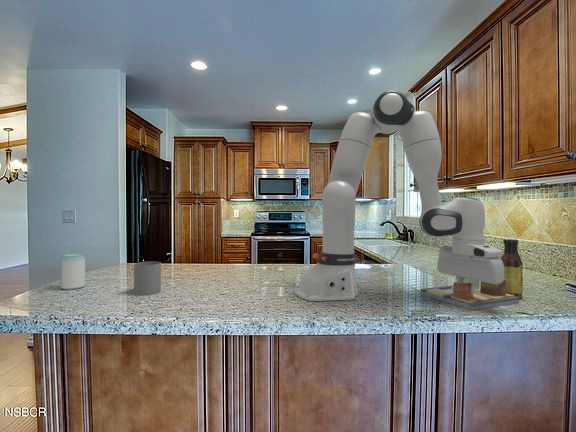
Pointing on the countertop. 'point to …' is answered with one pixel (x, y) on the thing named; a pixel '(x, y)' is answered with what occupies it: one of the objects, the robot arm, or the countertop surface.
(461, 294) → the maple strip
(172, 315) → the countertop surface
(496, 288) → the walnut cube
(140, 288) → the cup
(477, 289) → the sage block
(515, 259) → the sauce bottle
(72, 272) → the can
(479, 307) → the lane board
